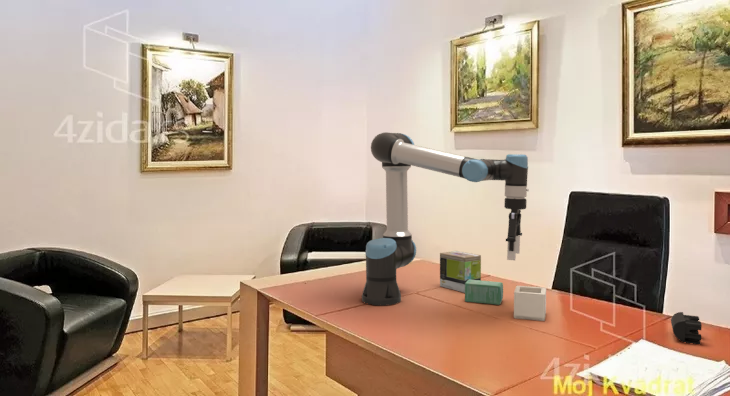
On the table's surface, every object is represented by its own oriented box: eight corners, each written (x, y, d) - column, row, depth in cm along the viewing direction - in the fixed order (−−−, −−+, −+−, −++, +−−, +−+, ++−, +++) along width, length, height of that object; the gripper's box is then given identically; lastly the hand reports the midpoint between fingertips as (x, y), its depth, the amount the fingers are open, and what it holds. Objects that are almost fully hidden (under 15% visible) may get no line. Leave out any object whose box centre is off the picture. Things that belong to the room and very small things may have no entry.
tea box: (481, 290, 218) (481, 254, 217) (464, 293, 213) (464, 257, 212) (456, 283, 231) (456, 249, 230) (439, 286, 225) (438, 252, 224)
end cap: (670, 332, 164) (671, 310, 164) (697, 335, 161) (698, 313, 160) (672, 342, 155) (673, 319, 155) (700, 345, 152) (701, 322, 151)
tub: (513, 318, 179) (514, 292, 179) (516, 310, 189) (516, 285, 188) (544, 321, 176) (545, 294, 175) (545, 312, 185) (546, 287, 184)
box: (500, 305, 195) (501, 285, 195) (464, 302, 200) (464, 282, 200) (503, 300, 202) (503, 281, 202) (467, 297, 207) (468, 278, 207)
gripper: (523, 201, 175) (520, 264, 177) (529, 195, 198) (527, 251, 200) (500, 200, 177) (497, 262, 179) (509, 194, 201) (507, 249, 202)
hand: (513, 256), depth 189 cm, fingers open, 13 cm apart
